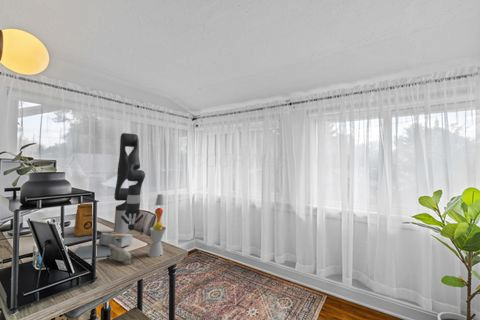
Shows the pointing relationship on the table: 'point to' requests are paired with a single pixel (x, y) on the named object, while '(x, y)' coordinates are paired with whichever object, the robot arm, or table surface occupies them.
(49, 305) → the table surface
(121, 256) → the decorative bird
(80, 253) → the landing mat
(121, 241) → the coffee box
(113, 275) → the table surface
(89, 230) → the coffee package
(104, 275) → the table surface
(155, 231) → the lava lamp
